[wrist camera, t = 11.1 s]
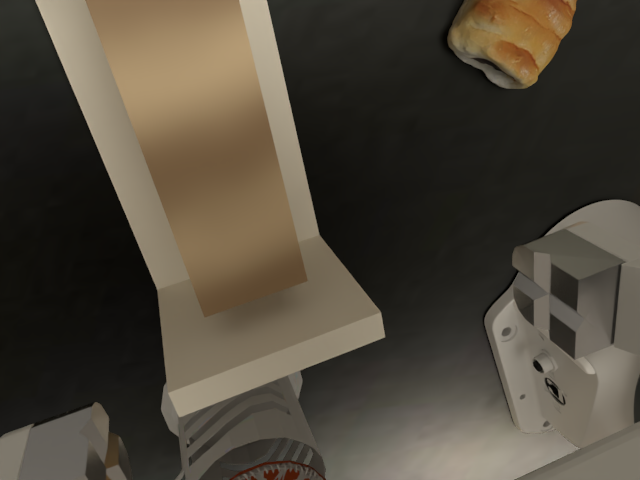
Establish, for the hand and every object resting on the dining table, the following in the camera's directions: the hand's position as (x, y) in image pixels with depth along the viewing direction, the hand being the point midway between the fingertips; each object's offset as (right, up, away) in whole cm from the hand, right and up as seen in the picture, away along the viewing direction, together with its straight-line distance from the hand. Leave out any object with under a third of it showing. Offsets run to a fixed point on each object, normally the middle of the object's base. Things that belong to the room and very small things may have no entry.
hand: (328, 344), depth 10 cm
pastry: (+11, +16, +21) cm, 29 cm away
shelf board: (-6, +7, +14) cm, 17 cm away
